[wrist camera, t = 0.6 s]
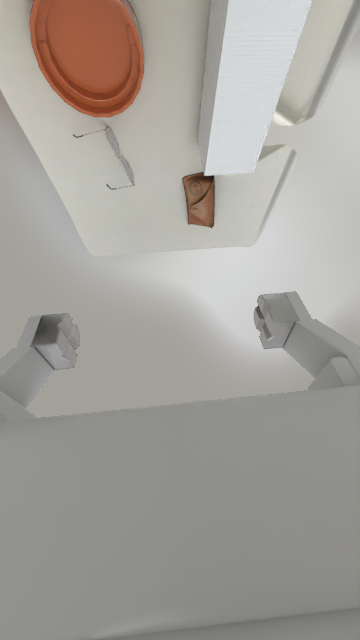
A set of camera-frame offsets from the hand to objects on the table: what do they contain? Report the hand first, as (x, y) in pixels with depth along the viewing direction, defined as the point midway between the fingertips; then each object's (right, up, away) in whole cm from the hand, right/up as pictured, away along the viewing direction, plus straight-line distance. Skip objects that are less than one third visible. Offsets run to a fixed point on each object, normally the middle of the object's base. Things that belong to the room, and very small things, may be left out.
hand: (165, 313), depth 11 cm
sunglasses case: (+6, +35, +62) cm, 71 cm away
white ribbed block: (+10, +46, +31) cm, 57 cm away
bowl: (-14, +44, +29) cm, 55 cm away
